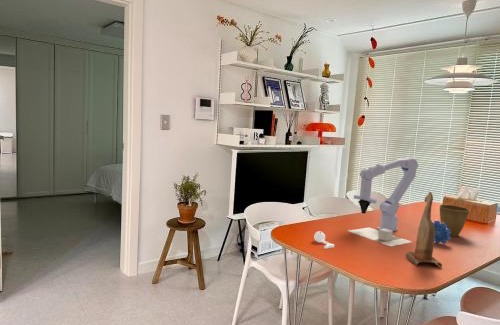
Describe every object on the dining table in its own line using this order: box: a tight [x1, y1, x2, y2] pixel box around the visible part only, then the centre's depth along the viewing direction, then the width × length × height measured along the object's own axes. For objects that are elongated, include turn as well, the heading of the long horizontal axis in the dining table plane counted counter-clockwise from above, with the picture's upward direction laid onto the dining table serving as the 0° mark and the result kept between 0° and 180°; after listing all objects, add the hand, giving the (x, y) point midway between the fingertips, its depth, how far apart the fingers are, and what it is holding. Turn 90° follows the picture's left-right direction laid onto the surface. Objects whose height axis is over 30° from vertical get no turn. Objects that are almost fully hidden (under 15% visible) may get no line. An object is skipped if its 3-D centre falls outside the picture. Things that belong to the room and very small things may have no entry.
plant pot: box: [439, 204, 470, 237], centre depth 202 cm, size 15×15×16 cm
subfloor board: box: [348, 227, 412, 247], centre depth 191 cm, size 18×28×1 cm, turn 32°
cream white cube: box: [378, 228, 394, 241], centre depth 186 cm, size 5×5×5 cm
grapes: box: [432, 219, 452, 245], centre depth 184 cm, size 12×7×12 cm, turn 57°
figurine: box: [313, 231, 335, 249], centre depth 172 cm, size 8×6×12 cm
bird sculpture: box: [405, 191, 443, 268], centre depth 154 cm, size 11×12×32 cm
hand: (363, 213), depth 203 cm, fingers closed
